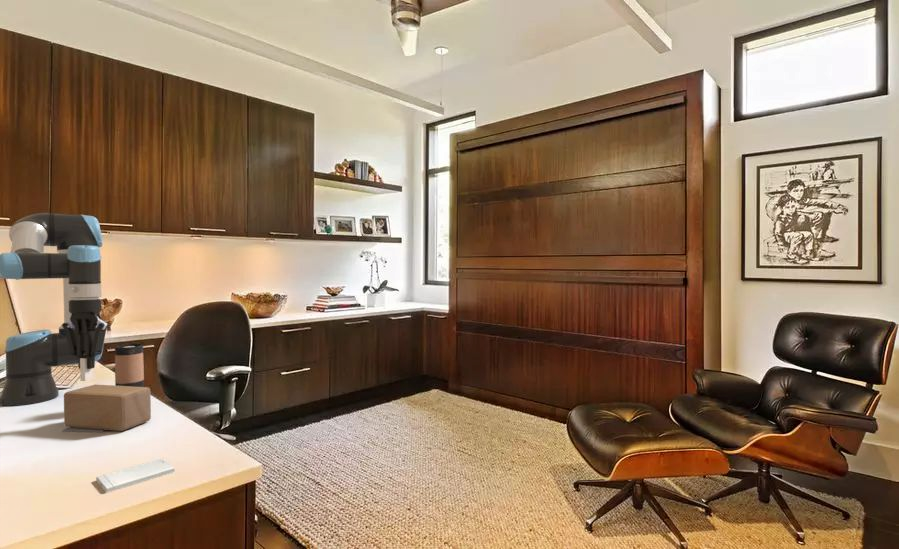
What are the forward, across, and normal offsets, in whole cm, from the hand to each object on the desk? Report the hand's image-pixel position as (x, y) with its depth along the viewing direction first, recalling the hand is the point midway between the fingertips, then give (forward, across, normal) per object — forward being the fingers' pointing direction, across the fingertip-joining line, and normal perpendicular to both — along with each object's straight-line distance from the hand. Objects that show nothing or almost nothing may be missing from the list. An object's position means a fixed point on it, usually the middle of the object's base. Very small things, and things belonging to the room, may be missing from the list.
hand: (86, 379), depth 136 cm
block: (+7, -3, 0) cm, 8 cm away
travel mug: (+13, +1, +15) cm, 20 cm away
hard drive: (+14, +41, -31) cm, 53 cm away
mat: (+13, +5, +1) cm, 13 cm away
